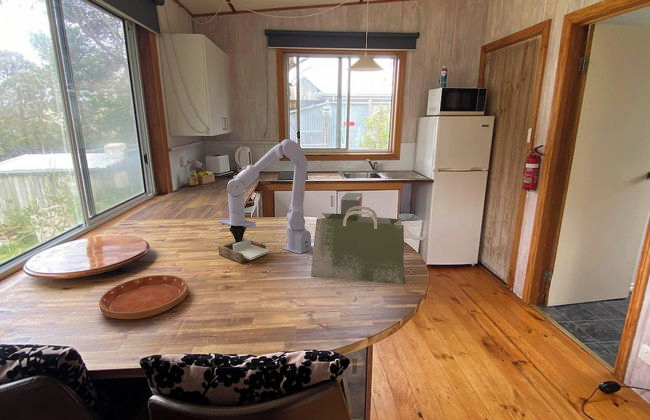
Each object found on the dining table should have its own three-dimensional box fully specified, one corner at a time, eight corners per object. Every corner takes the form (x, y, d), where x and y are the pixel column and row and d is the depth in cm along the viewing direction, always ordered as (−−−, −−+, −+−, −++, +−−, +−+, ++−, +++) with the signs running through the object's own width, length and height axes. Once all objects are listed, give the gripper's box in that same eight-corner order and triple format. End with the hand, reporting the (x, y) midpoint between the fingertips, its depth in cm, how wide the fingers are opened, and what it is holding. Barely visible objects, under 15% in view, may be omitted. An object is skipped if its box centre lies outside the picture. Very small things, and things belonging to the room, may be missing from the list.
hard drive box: (357, 247, 141) (358, 200, 136) (339, 246, 143) (339, 199, 138) (361, 235, 156) (362, 192, 151) (345, 234, 158) (345, 191, 152)
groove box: (266, 254, 135) (265, 245, 134) (241, 264, 126) (240, 254, 125) (243, 246, 143) (243, 237, 142) (219, 255, 134) (218, 246, 133)
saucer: (166, 277, 116) (165, 267, 115) (203, 299, 102) (202, 288, 101) (89, 305, 99) (86, 294, 98) (120, 336, 85) (118, 323, 84)
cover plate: (269, 252, 131) (269, 244, 130) (250, 259, 124) (250, 251, 123) (250, 245, 137) (250, 238, 137) (231, 253, 130) (231, 245, 129)
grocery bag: (404, 266, 123) (407, 204, 117) (406, 284, 110) (410, 215, 103) (317, 261, 128) (316, 201, 122) (309, 277, 115) (307, 211, 109)
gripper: (258, 209, 132) (260, 242, 136) (225, 206, 136) (228, 238, 140) (249, 213, 126) (252, 248, 129) (215, 211, 130) (218, 244, 133)
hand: (239, 243), depth 134 cm, fingers closed
